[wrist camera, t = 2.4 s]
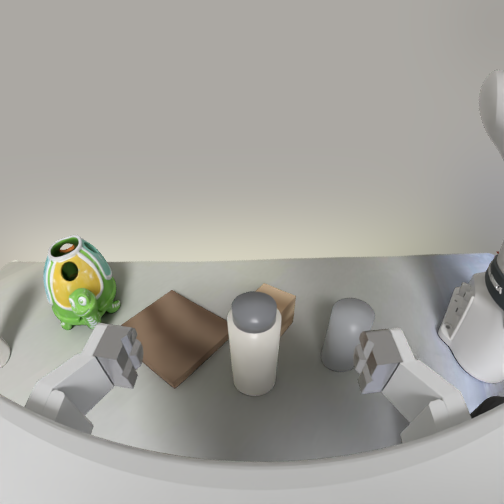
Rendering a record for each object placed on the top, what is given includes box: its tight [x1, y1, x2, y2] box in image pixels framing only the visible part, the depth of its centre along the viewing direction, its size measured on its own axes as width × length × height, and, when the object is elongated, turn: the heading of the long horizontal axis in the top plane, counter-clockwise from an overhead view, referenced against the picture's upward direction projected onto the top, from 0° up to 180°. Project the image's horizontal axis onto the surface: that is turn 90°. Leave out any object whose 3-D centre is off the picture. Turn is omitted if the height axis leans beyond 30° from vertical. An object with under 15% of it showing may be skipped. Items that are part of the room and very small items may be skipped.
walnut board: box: [121, 290, 229, 388], centre depth 36 cm, size 12×13×1 cm
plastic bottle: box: [227, 291, 281, 396], centre depth 28 cm, size 5×5×12 cm
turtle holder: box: [44, 235, 120, 330], centre depth 36 cm, size 12×18×12 cm
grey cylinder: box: [321, 298, 375, 372], centre depth 31 cm, size 5×5×8 cm
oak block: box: [255, 283, 296, 337], centre depth 37 cm, size 5×5×5 cm
